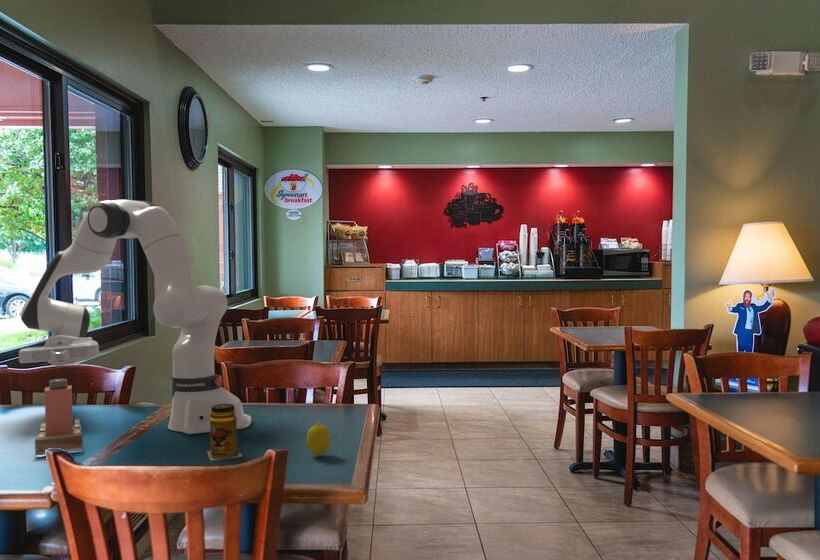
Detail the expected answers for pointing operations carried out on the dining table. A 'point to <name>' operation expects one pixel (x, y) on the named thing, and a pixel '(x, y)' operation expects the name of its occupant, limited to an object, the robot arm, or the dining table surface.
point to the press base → (59, 440)
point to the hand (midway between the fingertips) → (59, 355)
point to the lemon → (318, 439)
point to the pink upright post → (58, 408)
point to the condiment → (223, 433)
